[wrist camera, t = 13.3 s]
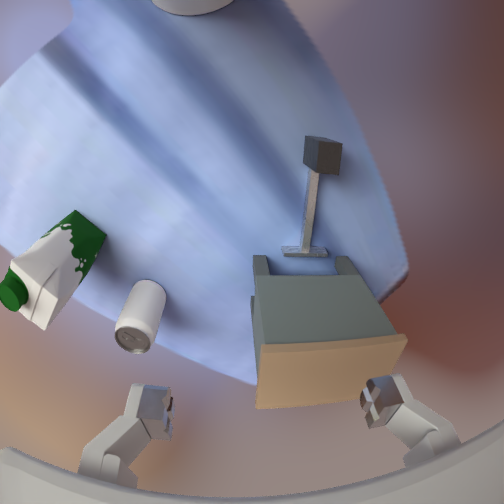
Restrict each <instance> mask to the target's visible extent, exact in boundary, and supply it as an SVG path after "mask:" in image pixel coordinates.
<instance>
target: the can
mask: <svg viewBox="0 0 504 504" xmlns="http://www.w3.org/2000/svg"><path fill="white" fill-rule="evenodd" d="M165 302H166V293H165V291H164V289H163V288H162V287H161V286H160V285H159V284H158V283H156V282H154V281H151V280H141V281H138V282H137V283H136V284H135V285H134V286H133V288H132V290H131V292H130V294H129V296H128V298H127V300H126V302H125V305H124V307H123V309H122V311H121V313H120V316H119V318H118V320H117V323H116V326H115V339H116V342H117V343H118V345H119V346H120V347H122V348H123V349H124V350H126V351H128V352H131V353H136V354H141V353H145V352H147V351H148V350H149V349H150V346H151V345H152V344H153V343H154V341H155V338H156V334H157V331H158V327H159V324H160V320H161V317H162V313H163V309H164V306H165Z"/></svg>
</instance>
